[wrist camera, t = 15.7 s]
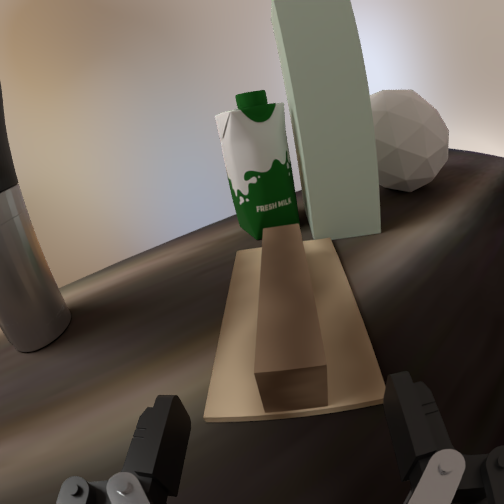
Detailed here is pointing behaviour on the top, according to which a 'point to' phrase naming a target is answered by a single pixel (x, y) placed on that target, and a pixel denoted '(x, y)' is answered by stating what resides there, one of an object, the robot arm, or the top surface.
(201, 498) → the top surface
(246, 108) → the milk carton
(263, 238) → the walnut bar
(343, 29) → the sage stand
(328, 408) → the beige flat board
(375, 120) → the ball
